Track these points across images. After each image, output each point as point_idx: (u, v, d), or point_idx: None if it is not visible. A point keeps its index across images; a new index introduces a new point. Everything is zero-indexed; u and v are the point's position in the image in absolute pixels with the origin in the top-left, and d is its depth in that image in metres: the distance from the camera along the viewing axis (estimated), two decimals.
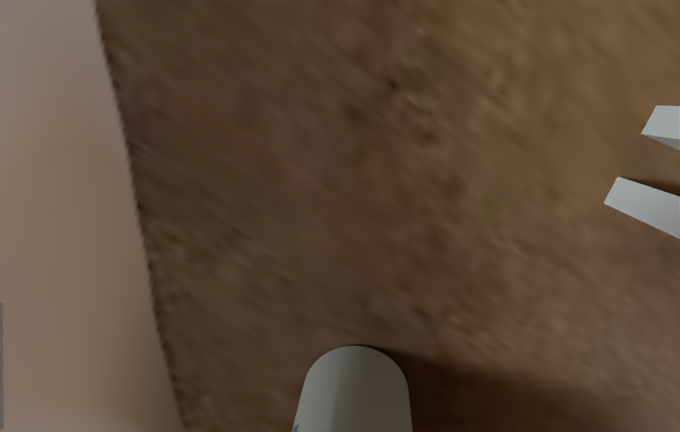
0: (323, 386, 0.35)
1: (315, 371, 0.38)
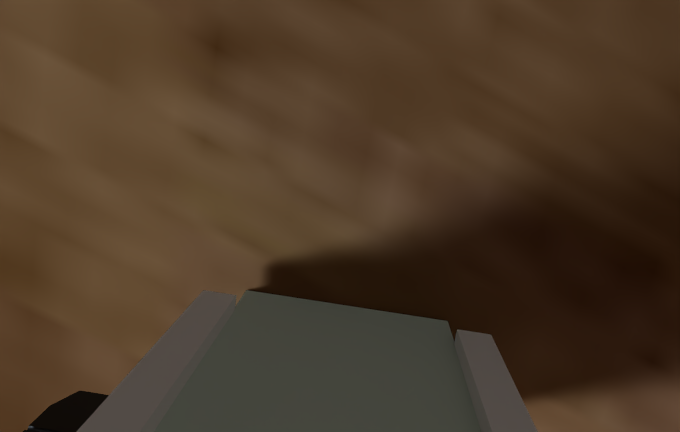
0: None
1: None
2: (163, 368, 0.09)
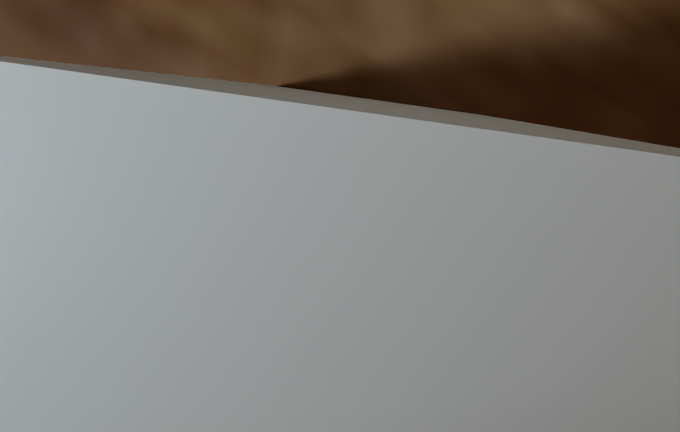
0: None
1: None
2: None
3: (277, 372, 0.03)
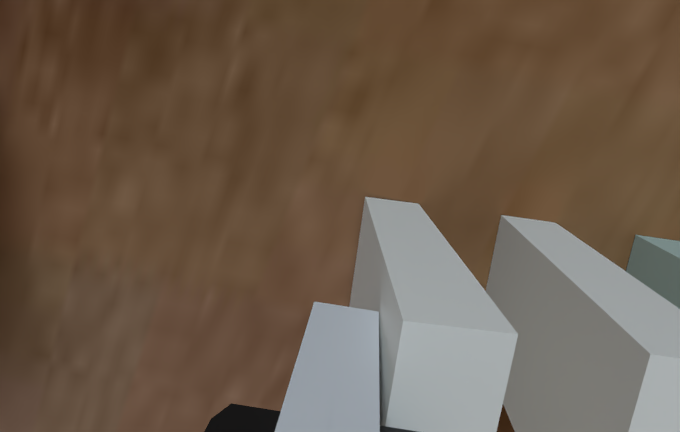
0: None
1: None
2: (316, 382, 0.09)
3: None
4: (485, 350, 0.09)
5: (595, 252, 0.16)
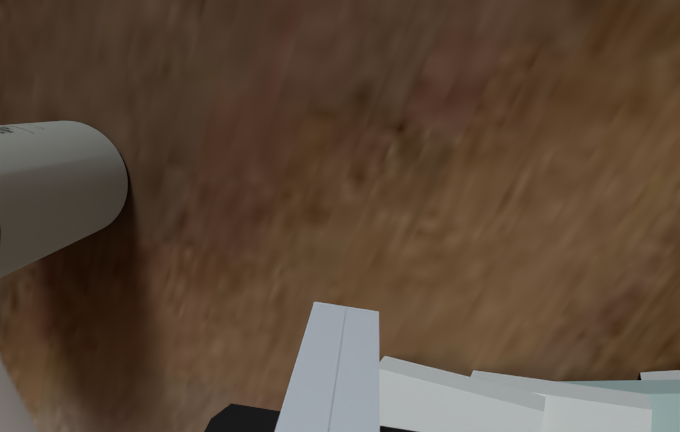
0: (66, 146, 0.31)
1: (80, 130, 0.34)
2: (316, 382, 0.09)
3: None
4: None
5: (530, 378, 0.37)
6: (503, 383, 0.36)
